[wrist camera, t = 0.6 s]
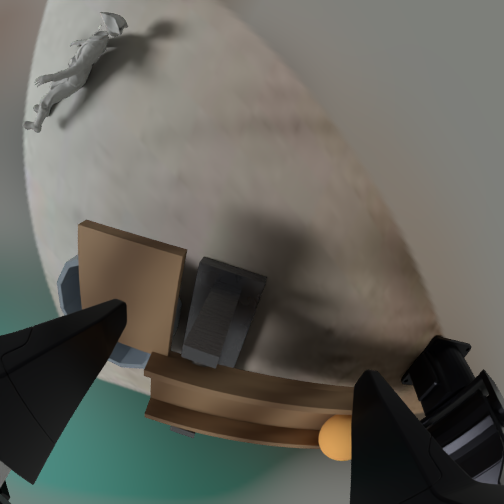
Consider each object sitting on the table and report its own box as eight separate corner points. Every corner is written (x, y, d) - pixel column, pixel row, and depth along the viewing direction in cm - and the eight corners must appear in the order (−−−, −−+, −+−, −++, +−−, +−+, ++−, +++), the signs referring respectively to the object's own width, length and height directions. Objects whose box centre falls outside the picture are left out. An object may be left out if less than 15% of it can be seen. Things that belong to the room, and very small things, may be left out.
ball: (369, 399, 17) (390, 439, 14) (344, 424, 19) (359, 461, 15) (327, 405, 16) (346, 452, 12) (303, 431, 18) (317, 472, 14)
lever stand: (266, 277, 21) (252, 353, 13) (227, 380, 26) (209, 447, 18) (203, 256, 21) (158, 321, 13) (181, 365, 26) (153, 428, 18)
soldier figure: (45, 90, 17) (97, -10, 10) (81, 103, 21) (142, 10, 14) (14, 140, 14) (56, 16, 7) (58, 155, 18) (117, 39, 11)
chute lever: (438, 314, 14) (462, 347, 11) (342, 430, 20) (347, 459, 17) (88, 218, 13) (50, 242, 10) (99, 376, 18) (84, 405, 15)
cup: (189, 263, 21) (169, 289, 17) (173, 356, 25) (159, 383, 22) (82, 225, 21) (53, 240, 17) (86, 316, 26) (66, 337, 22)
